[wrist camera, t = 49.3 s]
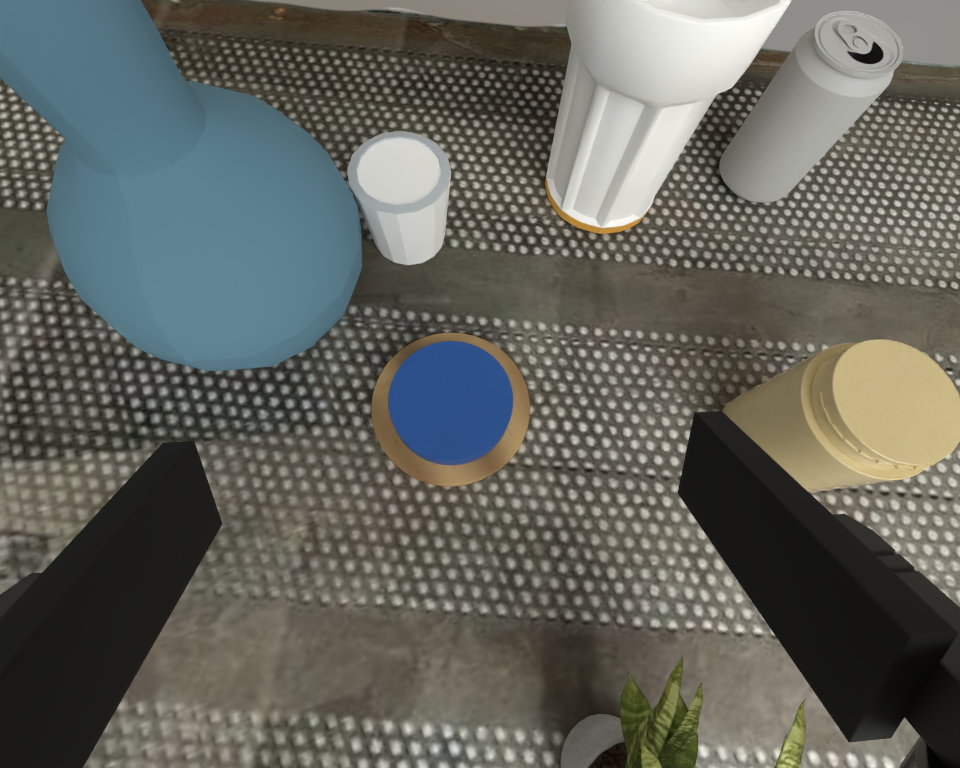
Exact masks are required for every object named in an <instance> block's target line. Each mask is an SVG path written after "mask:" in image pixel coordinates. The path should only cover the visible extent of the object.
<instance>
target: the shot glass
mask: <svg viewBox="0 0 960 768" xmlns="http://www.w3.org/2000/svg"><path fill="white" fill-rule="evenodd" d="M347 173H348V180H349V186H350V189H351V191H352V193H353V195H354V198H355V200H356V202H357V204H358V207H359V209H360V211H361V213H362V216H363V218H364V220H365V222H366V225H367V227H368V229H369V231H370V234H371V236H372V238H373V240H374V243H375V245H376V247H377V248H378V249H379V251H380V252H381V254H382V255H383V256H384V257H386V258H387V259H389V260H391V261H392V262H394V263H399V264H404V265H413V264H420V263H423V262H425V261H427V260H429V259H430V258H432V257H434V256H435V255H436V253H437V252H438V251H439V250H440V249H441V247H442V244H443V240H444V236H445V228H446V218H447V208H448V199H449V189H450V179H451V170H450V165H449V161H448V157H447V155H446V154H445V153H444V152H443V150H442V149H441V148H440V147H439V146H438V144H437V143H435V142H433V141H432V140H430V139H428V138H426V137H424V136H423V135H421V134H416V133H410V132H405V131H397V132H389V133H382V134H380V135H378V136H375V137H373V138H371V139H369V140H367V141H365V142H364V143H363V144H362V145H361V146H360V147H359V148H358V149H357V150H356V151H355V152H354V153H353V154H352V157H351V160H350V163H349V166H348V169H347Z"/></svg>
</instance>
